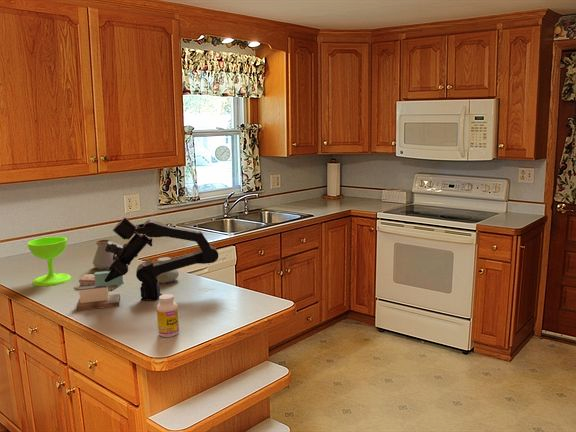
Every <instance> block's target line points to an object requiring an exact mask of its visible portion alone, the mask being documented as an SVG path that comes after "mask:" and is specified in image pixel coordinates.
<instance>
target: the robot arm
mask: <svg viewBox="0 0 576 432" xmlns="http://www.w3.org/2000/svg"><path fill="white" fill-rule="evenodd" d="M112 232H113V233H115V234H116V235H117V236H119V237H120V238H121V239H122V240H129V241H128V242H127V243H124V244H123V245H121V244H120V243H116V242H114V241H111V240H110V241H108V243H107V246H106V248H105V251H106V252H111V253H114V255H113V262H112V263H111V266H110V268H109V269H107V271H110V272H109V274H108V275H107V277H106V279H105V280H104V281H105V282H109V281H111V280H113V279H115V278H117V277H120V276H122V275H123V276H124V275H126V274H127V273H128V272H129V266H131V264H132V263H131V262H132V261H133V260H134V259H135V258H137V257H138V256H139V254H140V252H142V250H143V249H144V248H145V247H146V245H149V246H150V247H153V238H166V237H167V238H174V239H179V240H184V241H189V242H190V241H191V242H195V243H196V244H197V245H198V247H199V249H197V250H196V251H195V252H193V253H188V254H186V255H182V256H178V257H174V258H171V259H170V260H167V261H163V262H160V263H158V262H154V260H153V259H149V260H147V261H142V262H141V263H140V264H139V265H138V266H137V268H136V272H135V273H136V275H135V276H136V279H137V280H138V282H141V283H140V285H141V286H140V287H139V289H140V297H141V298H140V301H159V296H161V295H163V294H162V293H161V288H160V283H159V281H158V278H157V276H158V275H160V274H162V273H165V272H168V271H172V270H176V269H177V270H178V269H181V268H182V269H183V268H187V267H189V266H193V265H196V264H199V265H200V264H201V265H203V264H205V265H206V264H214V263H215V262H217V261H218V258H219V252H218V250H217V248H216V247H215V246H213V245H211V244H210V243H209V241H208V240H207V238H206V237H205V235H204V233H203V232H202V231H200V230H193V229H186V228H180V227H176V226H170V225H167V224H164V223H162V222H160V221H156V220H154V219H148V220H146V221H145V222H143V223H140V224H134V223H132V222H131V221H130V220H129V219H128V218H127V217H123V219H121V221H120V222H117V224H116V225H115V226H114V227H113V229H112ZM115 255H116V256H115Z"/></svg>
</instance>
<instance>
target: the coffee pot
mask: <svg viewBox="0 0 576 432" xmlns="http://www.w3.org/2000/svg"><path fill="white" fill-rule="evenodd" d="M108 241H111V240H110V239H100V240H97V241H95V244H96V245H97V249H96V252H95V255H94V258H93V260H92V264H93V267H95V268H96V269H97V270H101V271H108V269H109V268H110V266H111V263H112V262H113V255H114V253H111V252H106V251H105V248H106V246H107V243H108ZM115 256H116V255H115Z"/></svg>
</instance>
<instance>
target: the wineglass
mask: <svg viewBox="0 0 576 432" xmlns="http://www.w3.org/2000/svg"><path fill="white" fill-rule="evenodd" d="M26 245H27V247H28V250H29V251H30V252H31V254H32V255H34V256H35V257H36V258H39V259H42V260H46V261H47V266H48V267H47V268H48V274H45V275H44V274H43V275H42V276H38V277H36V278H35V279H34V280H32V285H33V286H34V287H52V286H58V285H61V284H65V283H68V282H70V281H71V280H72V275H70V274H68V273H62V272H60V273H56V272H54V264H53V259H55V258H58V257H59V256H60V255H62V254H63V253H64V251H65V250H66V248H67V245H68V238H67V237H66V236H48V237H46V236H45V237H41V238H36V239H32V240H30V241H28V242H27V244H26Z"/></svg>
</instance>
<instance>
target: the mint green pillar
mask: <svg viewBox="0 0 576 432" xmlns="http://www.w3.org/2000/svg"><path fill="white" fill-rule="evenodd" d="M109 272H110V271H108V270H103V271H96V272H94V273H93V274H94V276H95V286H96V287H98V286H107V285H117V284H122V285H124V283H123V282H124V275H122V276H120V277H117V278H115V279H113V280H111V281H109V282H105V281H104V280H105V279H106V277H107V275H108V274H109Z"/></svg>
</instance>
